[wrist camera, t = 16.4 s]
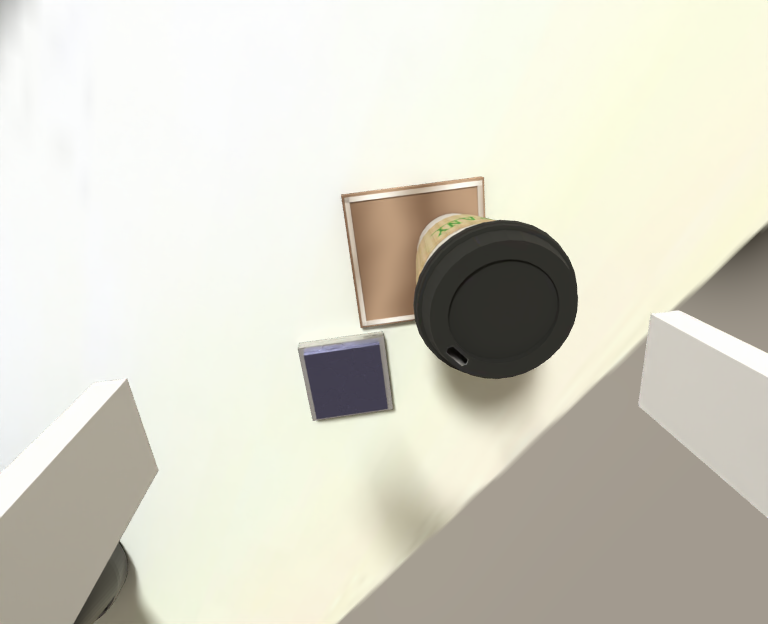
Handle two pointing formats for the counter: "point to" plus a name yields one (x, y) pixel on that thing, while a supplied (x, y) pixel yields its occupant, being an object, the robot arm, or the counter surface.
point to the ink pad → (346, 375)
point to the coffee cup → (492, 294)
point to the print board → (398, 241)
